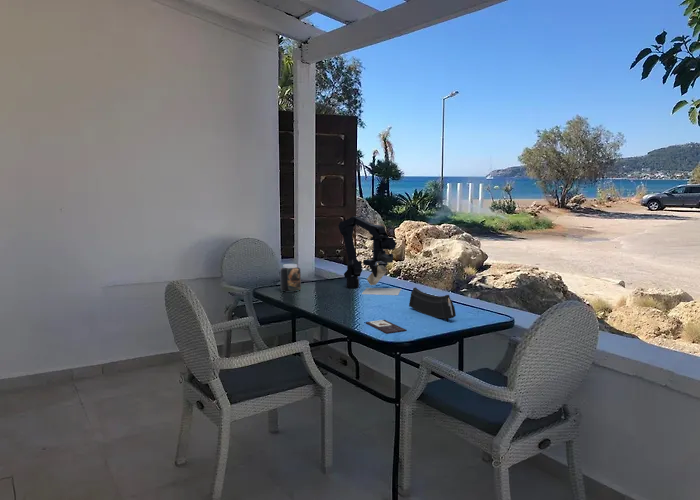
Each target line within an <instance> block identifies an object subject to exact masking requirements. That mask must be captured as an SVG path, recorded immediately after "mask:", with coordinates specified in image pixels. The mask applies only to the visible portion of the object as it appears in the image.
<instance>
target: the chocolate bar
mask: <svg viewBox="0 0 700 500" xmlns="http://www.w3.org/2000/svg"><path fill="white" fill-rule="evenodd" d="M365 324H366V325H369V326H370V327H372V328H374V329H376V330H378V331H380V332H382V333H384V334H385V335H388V334H395V333H403V332H407V329H406V328H403V327H402V326H399V325H397V324H395V323H392V322H390V321H388V320H386V319H379V320H373V321H366V322H365Z"/></svg>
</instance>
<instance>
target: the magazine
mask: <svg viewBox="0 0 700 500" xmlns="http://www.w3.org/2000/svg"><path fill="white" fill-rule="evenodd" d="M408 307H410V308H412V309H413V310H416V311H417V312H419V313H420V314H424V315H427V316H429V317H432V318H437V319H443V320H445V321H446V322H448V321H449V320H450V319H454V318H455V317H456V316H457V315H456V309H455V304H454V303H453V300H452V299H451V296H450V295H449V294H446V295H442V296H441V295H440V296H439V295H432V294H429V293H427V292H423V291H421V290H420V289H418V288H417V287H413V288H412V291H411V293H410V297H409V303H408Z"/></svg>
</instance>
